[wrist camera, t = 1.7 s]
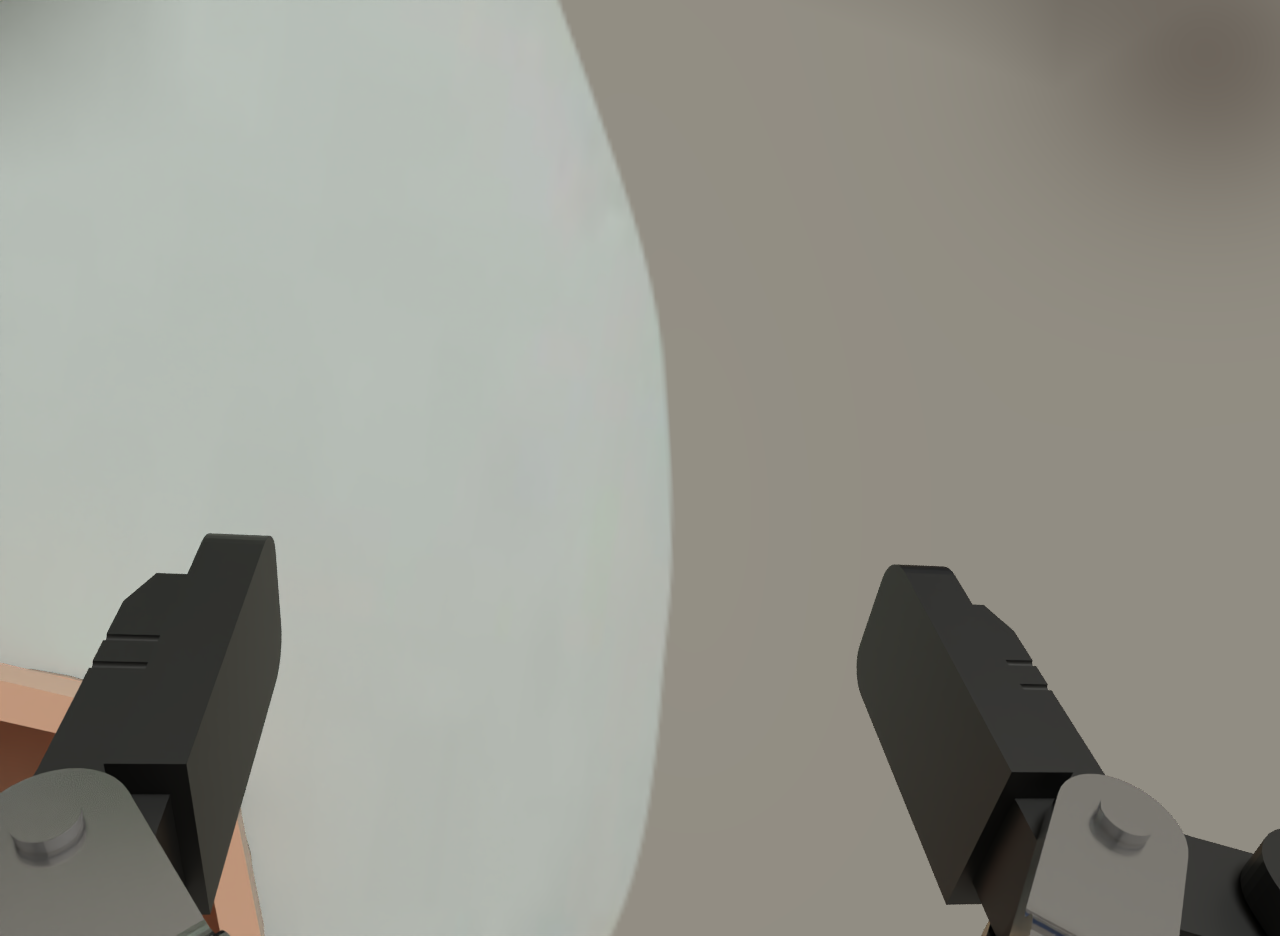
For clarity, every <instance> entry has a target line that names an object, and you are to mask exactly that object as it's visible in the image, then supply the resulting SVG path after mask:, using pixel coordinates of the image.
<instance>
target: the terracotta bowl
mask: <svg viewBox="0 0 1280 936" xmlns="http://www.w3.org/2000/svg"><path fill="white" fill-rule="evenodd" d="M82 681H83V680H82V679H79V678H75V677H72V676H68V675H62V674H57V673H51V672H46V671H40V670H35V669H24V668H20V667H16V666H12V665H8V664H4V663H0V793H1V792H2V791H4V790H6V789H7V788H9V787H10V786H12V785H14V784H16V783H18V782H20V781H22V780H24V779H27V778H30V777H33V775H34V774H35V772H36V770H37V769H38V767H39V765H40V763H41V761H42V759H43V757H44V755H45V753H46V751H47V749H48V747H49V745H50V743H51V741H52V739H53V737H54V736H55V734H56V732H57V730H58V728H59V726H60V724H61V722H62V720H63V718H64V716H65V714H66V712H67V710H68V708H69V706H70V704H71V702H72V700H73V698H74V696H75V695H76V693H77V691H78V689H79V687H80V685H81V683H82ZM202 916H203V918H204V919H205V921H206V923H207V924H208V926H209V927H210V928H211V930H212V931H213V932H214V933H217V932H219V931H220V930H224V931H226V932H227V933H228V934H229V935H230V936H264V923H263V918H262V913H261V908H260V903H259V898H258V893H257V888H256V883H255V878H254V873H253V867H252V859H251V852H250V848H249V845H248V841H247V838H246V833H245V828H244V823H243V818H242V813H241V808H240V811H239V814H238V818H237V822H236V825H235V829H234V832H233V836H232V839H231V843H230V846H229V850H228V853H227V857H226V861H225V864H224V868H223V871H222V875H221V878H220V882H219V885H218V889H217V892H216V896H215V900H214V903H213V907H212V910H211V914H210V915H202Z"/></svg>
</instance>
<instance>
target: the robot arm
mask: <svg viewBox="0 0 1280 936" xmlns="http://www.w3.org/2000/svg"><path fill="white" fill-rule="evenodd" d="M280 655H281V618H280V604H279V591H278V578H277V565H276V552H275V544H274V540H273V538H272V537H271V536H259V535H235V534H212V533H209V534H207V535H206V536H205V537H204V538H203V540H202V542H201V545H200V547H199V549H198V551H197V554H196V556H195V558H194V560H193V563H192V565H191V567H190V569H189V572H188V574H166V573H156V574H155V575H154V576H153V577H152V578H150V579H149V580H148V581H147V582H146V583H144V584H143V585H142V586H141V587H140V588H138V589H137V590H136V591H135V592H134V593H132V594H131V595H130V596H129V597H128V598H126V599H125V600H124V601H123V603H122V605H121V607H120V609H119V611H118V613H117V615H116V616H115V618H114V620H113V622H112V624H111V626H110V628H109V630H108V632H107V638H106V640H103V642H102V644H101V646H100V648H99V650H98V652H97V654H96V656H95V657H94V659H93V666H92V668H89V669H88V671H87V673H86V675H85V677H84V679H83V681H82V683H81V685H80V687H79V689H78V691H77V693H76V695H75V696H74V698H73V700H72V702H71V704H70V706H69V708H68V710H67V712H66V714H65V716H64V718H63V720H62V722H61V724H60V726H59V728H58V730H57V732H56V734H55V736H54V737H53V739H52V741H51V743H50V745H49V747H48V749H47V751H46V753H45V755H44V757H43V759H42V761H41V763H40V765H39V767H38V769H37V770H36V772H35V774H34V775H33V777H30V778H27V779H24V780H22V781H20V782H18V783H16V784H14V785H12V786H10V787H9V788H7V789H6V790H4V791H2V792H1V793H0V936H230V935H229V934H228V933H227V932H226V931H224V930H220V931H219V932H217V933H214V932H213V931H212V930H211V928H210V927H209V926H208V924H207V923H206V921H205V919H204V918H203V916H202V915H210V914H211V910H212V907H213V903H214V900H215V896H216V892H217V889H218V885H219V882H220V878H221V875H222V871H223V868H224V864H225V861H226V857H227V853H228V850H229V846H230V843H231V839H232V836H233V832H234V829H235V825H236V822H237V818H238V814H239V811H240V807H241V804H242V800H243V797H244V793H245V790H246V786H247V783H248V779H249V775H250V772H251V768H252V765H253V761H254V758H255V754H256V751H257V747H258V744H259V740H260V736H261V733H262V729H263V726H264V722H265V719H266V715H267V712H268V708H269V705H270V701H271V697H272V694H273V690H274V687H275V683H276V679H277V675H278V670H279V663H280ZM857 680H858V686H859V690H860V693H861V696H862V699H863V701H864V703H865V705H866V708H867V711H868V713H869V716H870V718H871V721H872V723H873V726H874V728H875V731H876V733H877V735H878V738H879V740H880V743H881V745H882V748H883V750H884V753H885V755H886V757H887V760H888V763H889V765H890V767H891V770H892V772H893V775H894V777H895V780H896V782H897V785H898V787H899V790H900V792H901V794H902V797H903V799H904V802H905V804H906V807H907V809H908V811H909V814H910V817H911V819H912V821H913V824H914V826H915V829H916V831H917V833H918V836H919V839H920V841H921V843H922V846H923V848H924V851H925V853H926V856H927V858H928V861H929V863H930V866H931V868H932V871H933V873H934V876H935V878H936V880H937V883H938V885H939V888H940V890H941V893H942V895H943V898H944V900H945V902H946V905H948V904H949V905H950V904H982V905H983V907H984V910H985V912H986V915H987V917H988V919H989V922H988V923H987V925H986V927H985V929H984V931H983V933H982V935H981V936H1280V829H1277V830H1275V831H1273V832H1271V833H1269V834H1268V836H1267V837H1266V838H1265V839H1264V840H1263V842H1262V843H1261V844H1260V846H1259V847H1258V848H1257V850H1256V851H1255V853H1254V854H1252V853H1248V852H1245V851H1241V850H1238V849H1234V848H1230V847H1227V846H1223V845H1220V844H1216V843H1212V842H1209V841H1205V840H1201V839H1198V838H1194V837H1191V836H1188V835H1185V834H1183V832H1182V830H1181V828H1180V826H1179V825H1178V823H1177V822H1176V820H1175V819H1174V818H1173V817H1172V815H1171V814H1170V813H1169V812H1168V811H1167V810H1166V809H1165V808H1164V807H1163V806H1162V805H1161V804H1160V803H1159V802H1157V801H1156V800H1155V799H1154V798H1152V797H1151V796H1150V795H1148V794H1147V793H1145V792H1144V791H1142V790H1141V789H1139V788H1137V787H1135V786H1133V785H1131V784H1129V783H1127V782H1125V781H1122V780H1120V779H1117V778H1113V777H1110V776H1106V775H1105V774H1104V773H1103V771H1102V769H1101V768H1100V766H1099V765H1098V763H1097V762H1096V760H1095V759H1094V757H1093V755H1092V754H1091V752H1090V750H1089V749H1088V747H1087V746H1086V744H1085V743H1084V741H1083V739H1082V738H1081V736H1080V735H1079V733H1078V732H1077V730H1076V728H1075V727H1074V725H1073V724H1072V722H1071V721H1070V719H1069V717H1068V716H1067V714H1066V713H1065V711H1064V710H1063V708H1062V706H1061V705H1060V703H1059V702H1058V700H1057V698H1056V697H1055V695H1054V694H1053V692H1052V691H1051V690H1050V691H1049V690H1048V689H1047V683H1046V681H1045V680H1044V678H1043V676H1042V675H1041V673H1040V672H1039V670H1038V669H1037V667H1036V666H1032V659H1031V658H1030V656H1029V654H1028V653H1027V651H1026V649H1025V648H1024V646H1023V645H1022V643H1021V642H1020V640H1019V638H1018V637H1017V635H1016V634H1015V632H1014V631H1013V630H1012V629H1011V628H1010V627H1009V626H1007V625H1006V624H1005V623H1004V622H1003V621H1001V620H1000V619H999V618H998V617H997V616H996V615H995V614H993V613H992V612H991V611H990V610H989V609H988V608H987V607H985V606H984V605H972V603H971V601H970V600H969V598H968V596H967V595H966V593H965V591H964V590H963V588H962V587H961V585H960V583H959V581H958V580H957V578H956V576H955V575H954V574H953V572H952V571H951V570H950V569H949V568H947V567H939V566H917V565H891V566H890V567H889V568H888V569H887V570H886V572H885V574H884V576H883V579H882V582H881V584H880V587H879V590H878V593H877V596H876V599H875V602H874V605H873V608H872V611H871V614H870V617H869V620H868V623H867V626H866V629H865V632H864V634H863V637H862V641H861V643H860V647H859V651H858V656H857Z"/></svg>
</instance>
